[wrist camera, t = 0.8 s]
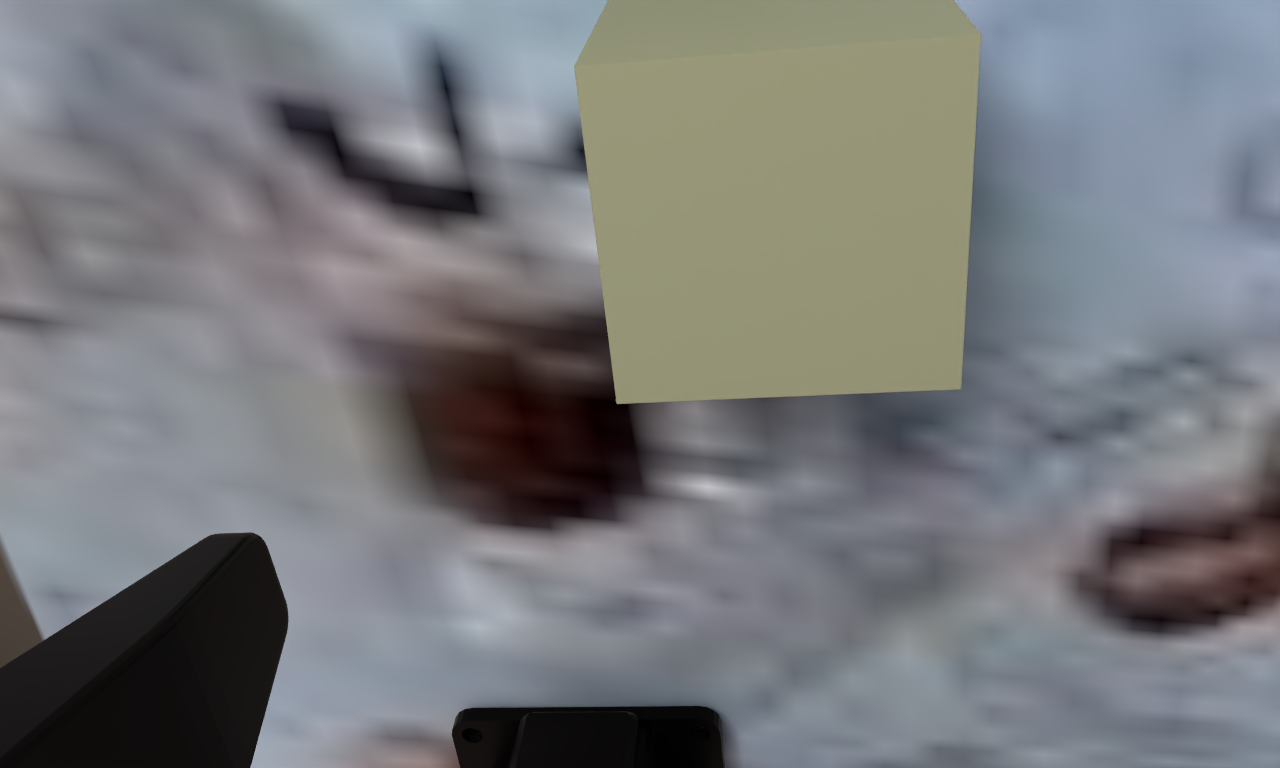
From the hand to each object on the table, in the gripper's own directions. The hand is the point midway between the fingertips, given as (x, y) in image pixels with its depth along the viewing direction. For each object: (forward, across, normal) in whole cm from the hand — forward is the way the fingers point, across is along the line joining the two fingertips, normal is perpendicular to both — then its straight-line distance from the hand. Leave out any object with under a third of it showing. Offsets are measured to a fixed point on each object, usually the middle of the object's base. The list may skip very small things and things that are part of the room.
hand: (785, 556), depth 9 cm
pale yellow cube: (+12, 0, 0) cm, 12 cm away
